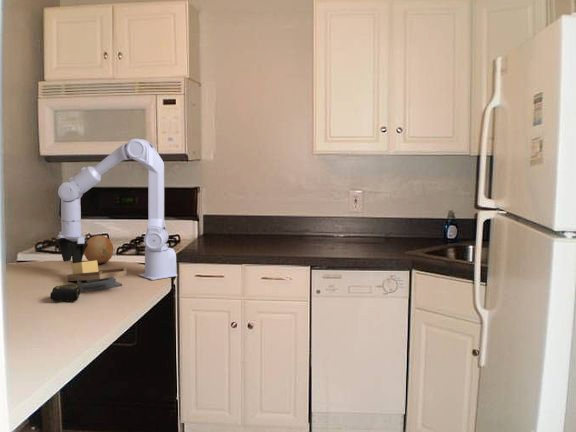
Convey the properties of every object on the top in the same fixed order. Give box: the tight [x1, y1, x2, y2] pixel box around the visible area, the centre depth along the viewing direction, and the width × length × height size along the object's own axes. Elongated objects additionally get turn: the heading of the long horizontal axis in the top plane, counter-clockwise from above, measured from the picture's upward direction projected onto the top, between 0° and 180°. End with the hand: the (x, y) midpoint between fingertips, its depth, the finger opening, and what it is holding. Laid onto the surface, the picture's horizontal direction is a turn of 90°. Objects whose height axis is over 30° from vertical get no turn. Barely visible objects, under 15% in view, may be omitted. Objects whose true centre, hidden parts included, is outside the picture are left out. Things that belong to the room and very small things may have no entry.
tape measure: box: [50, 283, 81, 303], centre depth 142 cm, size 7×7×4 cm
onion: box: [83, 235, 114, 265], centre depth 186 cm, size 10×10×10 cm
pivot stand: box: [72, 277, 123, 293], centre depth 157 cm, size 12×8×2 cm, turn 135°
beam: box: [67, 267, 128, 282], centre depth 156 cm, size 8×22×3 cm, turn 45°
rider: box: [71, 260, 99, 274], centre depth 162 cm, size 5×8×4 cm, turn 45°
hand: (72, 263), depth 168 cm, fingers open, 7 cm apart
